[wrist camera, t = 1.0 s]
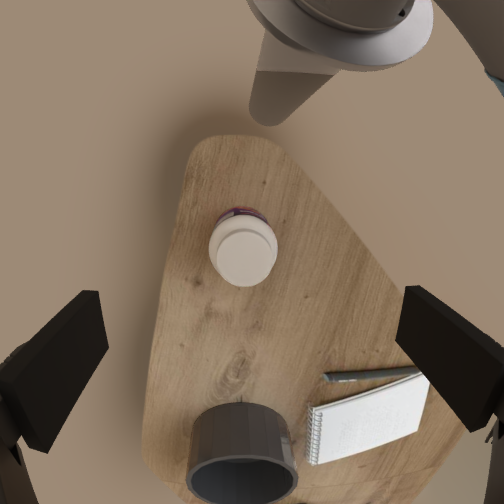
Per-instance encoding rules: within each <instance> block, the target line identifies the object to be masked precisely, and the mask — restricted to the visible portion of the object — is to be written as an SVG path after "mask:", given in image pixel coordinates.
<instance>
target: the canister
mask: <svg viewBox="0 0 504 504" xmlns="http://www.w3.org/2000/svg"><path fill="white" fill-rule="evenodd" d="M298 478H299V477H298V472H297V467H296V462H295V457H294V453H293V448H292V443H291V438H290V433H289V430H288V426H287V424H286V422H285V420H284V419H283V417H281V416H280V415H279V414H278V413H277V412H275V411H274V410H272V409H270V408H268V407H265V406H262V405H258V404H253V403H229V404H223V405H219V406H216V407H214V408H211V409H209V410H207V411H206V412H204V413H203V414H202V415H201V416H199V418H198V419H197V420H196V422H195V423H194V426H193V430H192V434H191V441H190V449H189V457H188V465H187V473H186V484H187V487H188V489H189V490H190V491H191V492H192V493H193V494H194V495H195V496H196V497H197V498H199V499H201V500H203V501H205V502H207V503H209V504H273V503H275V502H278V501H280V500H282V499H284V498H285V497H287V496H288V495H290V494H291V493H292V492H293V490H294V489H295V488H296V487H297V483H298Z"/></svg>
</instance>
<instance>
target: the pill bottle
mask: <svg viewBox="0 0 504 504" xmlns="http://www.w3.org/2000/svg"><path fill="white" fill-rule="evenodd" d="M277 252H278V246H277V240H276V237H275V234H274V232H273V230H272V229H271V227H270V225H269V224H268V222H267V220H266V219H265V217H264V216H263V215H262V214H261V213H260V212H258V211H257V210H255V209H253V208H250V207H246V206H238V207H233V208H231V209H229V210H227V211H225V212H224V213H223V214H222V215H221V216H220V217H219V219H218V220H217V222H216V224H215V227H214V230H213V232H212V235H211V238H210V241H209V256H210V260H211V262H212V265H213V266H214V268H215V269H216V270H217V272H218V273H219V274H220V275H221V276H222V277H223V278H224V279H225V280H226V281H227V282H229V283H230V284H233V285H235V286H239V287H250V286H254V285H256V284H258V283H260V282H262V281H263V280H264V279H265V278H266V277H267V276H268V274H269V273H270V271H271V269H272V267H273V265H274V263H275V261H276V258H277Z"/></svg>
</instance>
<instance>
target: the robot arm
mask: <svg viewBox="0 0 504 504" xmlns="http://www.w3.org/2000/svg"><path fill="white" fill-rule="evenodd" d="M294 1H295V2H296V3H297V4H298V5H299V6H300V7H301V8H302V9H303V10H305V11H306V12H307V13H308V14H310V15H311V16H313V17H314V18H316V19H318V20H320V21H321V22H323V23H325V24H327V25H330V26H332V27H335V28H337V29H340V30H344V31H347V32H352V33H358V34H377V33H382V32H386V31H388V30H391V29H393V28H394V27H396V26H397V25H398V24H400V23H401V22H402V21H403V20H404V19H406V17H407V16H408V15H409V13H410V11H411V9H412V7H413V5H414V2H415V0H294ZM434 1H435V2H436V3H437V5H438V6H439V7H440V8H441V9H442V10H443V11H444V13H445V14H446V15H447V16H448V17H449V18H450V20H451V21H452V22H453V23H454V25H455V26H456V27H457V29H458V30H459V31H460V33H461V34H462V35H463V36H464V38H465V39H466V41H467V42H468V43H469V45H470V46H471V48H472V49H473V51H474V52H475V54H476V55H477V56H478V58H479V59H480V61H481V62H482V64H483V66H484V67H485V73H486V74H487V76H488V77H489V78H490V79H491V80H492V81H494V83H495V84H496V86H497V88H498V89H499V91H500V92H501V94H502V95H503V97H504V0H434ZM395 341H396V342H397V344H398V345H399V346H400V347H401V348H402V349H403V351H404V352H405V353H406V354H407V355H408V356H409V358H410V359H411V360H412V361H413V362H414V364H415V365H416V366H417V367H418V368H419V370H420V371H421V372H422V373H423V374H424V376H425V377H426V378H427V379H428V380H429V382H430V383H431V384H432V385H433V386H434V388H435V389H436V390H437V391H438V393H439V394H440V395H441V396H442V398H443V399H444V400H445V401H446V402H447V404H448V405H449V406H450V407H451V409H452V410H453V411H454V412H455V414H456V415H457V416H458V418H459V419H460V420H461V421H462V423H463V424H464V425H465V426H466V428H467V429H468V430H469V432H470V433H471V432H474V431H476V430H479V429H481V428H483V427H485V426H486V425H487V423H488V421H489V419H490V418H491V416H492V414H493V413H494V414H495V415H496V416H497V420H496V422H495V424H494V426H493V428H492V429H491V431H490V433H489V434H488V436H487V438H486V440H485V443H487V442H488V441H489V439H490V438H491V437H492V436H493V440H492V442H491V444H492V453H491V461H490V469H489V476H488V482H487V488H486V494H485V499H484V504H504V347H501V345H500V344H499V343H497V342H495V340H494V339H492V338H491V337H490V336H488V335H487V334H485V333H483V332H482V331H481V330H479V329H478V328H477V327H475V326H474V325H473V324H472V323H470V322H469V321H468V320H466V319H465V318H464V317H462V316H461V315H460V314H458V313H457V312H456V311H454V310H453V309H451V308H450V307H449V306H447V305H446V304H445V303H443V302H442V301H440V300H439V299H438V298H436V297H435V296H434V295H432V294H431V293H429V292H428V291H427V290H425V289H424V288H422V287H421V286H420V285H417V286H406V287H405V293H404V299H403V305H402V310H401V315H400V320H399V325H398V330H397V335H396V339H395ZM108 348H109V346H108V341H107V336H106V331H105V327H104V321H103V316H102V310H101V304H100V299H99V292H98V291H90V290H83V291H81V292H80V293H79V294H78V295H77V296H76V297H75V298H74V299H73V300H72V301H70V302H69V303H68V304H67V305H66V306H65V307H64V308H63V309H62V310H61V311H60V312H59V313H57V314H56V316H54V318H52V319H51V320H50V321H49V322H48V323H47V324H46V325H45V326H44V327H43V328H42V329H41V330H40V331H39V332H38V333H37V334H35V335H34V337H32V338H31V339H30V340H29V341H28V342H26V343H24V344H22V345H20V346H19V347H17V348H16V349H15V350H14V351H13V352H12V353H11V354H10V357H9V356H8V357H7V358H6V359H5V360H4V363H1V364H0V504H39V503H38V501H37V498H36V495H35V492H34V490H33V487H32V484H31V481H30V478H29V475H28V472H27V469H26V465H25V462H24V459H23V455H22V451H21V449H20V447H19V445H18V443H17V441H18V439H19V438H20V436H21V435H22V437H23V439H24V440H25V442H26V444H27V445H28V447H29V448H31V449H34V450H37V451H40V452H44V453H47V454H48V452H49V450H50V448H51V447H52V445H53V443H54V441H55V439H56V437H57V435H58V434H59V432H60V430H61V428H62V426H63V424H64V423H65V421H66V419H67V417H68V415H69V414H70V412H71V410H72V408H73V407H74V405H75V403H76V402H77V400H78V398H79V396H80V395H81V393H82V391H83V390H84V388H85V386H86V384H87V383H88V381H89V379H90V378H91V376H92V374H93V373H94V371H95V370H96V368H97V366H98V365H99V363H100V361H101V359H102V358H103V356H104V355H105V353H106V351H107V350H108Z"/></svg>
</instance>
